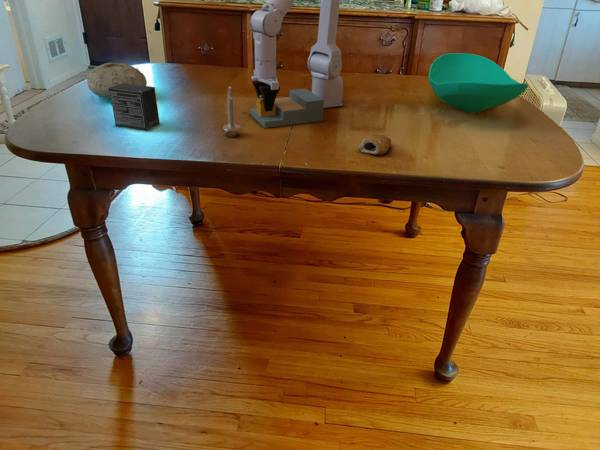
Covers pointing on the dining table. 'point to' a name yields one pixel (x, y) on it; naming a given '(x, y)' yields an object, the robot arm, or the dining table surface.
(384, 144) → the pastry
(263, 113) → the block with handle
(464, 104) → the table top decor
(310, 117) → the step rack
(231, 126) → the screw
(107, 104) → the dining table surface
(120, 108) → the small box
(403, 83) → the dining table surface
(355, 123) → the dining table surface
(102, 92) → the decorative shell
